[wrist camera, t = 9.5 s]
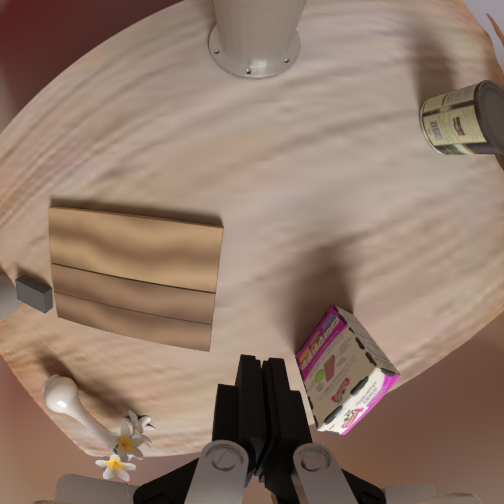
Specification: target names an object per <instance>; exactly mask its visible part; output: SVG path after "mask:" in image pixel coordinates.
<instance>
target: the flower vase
mask: <svg viewBox="0 0 504 504" xmlns="http://www.w3.org/2000/svg"><path fill="white" fill-rule="evenodd" d="M42 392H43V394H44V400H45V403H46V405H47V407H48V408H49V409H51V410H52V411H54V412H57V413H65V414H67V415H70V416H72V417H73V418H75V419H76V420H78V421H79V422H80V423H82V424H83V425H84V426H85V427H86V428H88V429H89V430H90V431H91V432H92V433H94V434H95V435H96V436H97V437H98V438H99V439H100V440H101V441H102V442H103V443H104V444H105V445H106V446H107V447H108V448H109V450H110V451H111V452H113V451H114V453H115V454H112V455H111V456H110V457H107V456H105V457H103V459H104V460H97V461H96V462H95V463H96V464H97V465H98V466H101V467H103V468H102V470H103V471H104V473H103V477H104V478H105V479H109V478H112V477H113V476H114V474H115V471H116V473H117V475H118V476H119V477H120V478H122V479H123V480H125V481H128V480H129V479H130V477H129V475H128V474H127V473H126V471H125V469H126V470H135V469H136V467H135V465H134V464H131V463H127V461H129V460H130V459H131V458H132V457H133V456H135V457H136V458H138V459H140V460H142V459H143V454H142V452H141V451H140V450H139V449H138V448H139V447H140V446H141V444H143V443H144V444H145V445H147V446H148V447H150V446H149V444H148V443H150V444H152V442H151V440H150V439H149V438H148V437H146V436H145V435H141V434H142V433H143V430H151V431H154V430H155V428H153V427H152V426H148V425H147V424H148V423H149V422H150V421H151V418H150V417H148V416H144V417H142V418H140V419H139V421H138V417H137V415H136V414H135V413H134V412H133V411H131V410H129V411H128V413H129V416H130V418H131V420H130V419H129V418H126V417H124V418H123V419H124V420H125V421H126V422H128V423H129V424H130V425H132V426H133V434H132V436H131V433H130V428H129V426H128V425H127V424H123V425H122V427H121V436H120V435H119V434H117V433H115V432H111V431H110V430H108V429H107V428H105V427H104V426H103V425H102V424H100V423H99V422H98V421H97V420H96V419H95V418H94V417H93V416H92V415H91V414H90V413H89V412H88V411H87V410H86V409H85V408H84V406H83V405H82V403H81V401H80V399H79V395H78V389H77V386H76V384H75V382H74V381H73V380H72V379H71V378H69V377H61V376H60V375H58V374H55V375H52V376H51V377H49V378H48V379H47V380H46V381H45V383H44V384H43V387H42ZM146 425H147V426H146ZM147 442H148V443H147ZM116 448H117V450H116ZM150 448H151V447H150Z"/></svg>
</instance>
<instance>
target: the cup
mask: <svg viewBox="0 0 504 504" xmlns="http://www.w3.org/2000/svg"><path fill="white" fill-rule="evenodd" d="M18 306H19V300H18V299H17V293H16V288H15V286H14V284H13V283H12V281H11V279H10V278H8V277H7V276H6V275H3V274H0V322H1V321H2V320H4V319H5V318H6V317H8V316H9V315H10V314H12V313H13V312H14V311H16V310H17V309H18Z"/></svg>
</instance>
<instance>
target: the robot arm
mask: <svg viewBox="0 0 504 504" xmlns="http://www.w3.org/2000/svg"><path fill="white" fill-rule="evenodd" d="M306 2H307V0H213V5H214V11H215V16H216V22H217V24H216V25H215V26H214V28H213V29H212V31H211V34H210V37H209V49H210V52H211V55H212V57H213V59H214V61H215V62H216V63H217V64H218V65H219V66H220V67H221V68H222V69H224V70H225V71H227V72H228V73H230V74H232V75H235V76H238V77H241V78H247V79H264V78H269V77H273V76H276V75H278V74H280V73H282V72H284V71H285V70H287V69H288V68H290V66H291V65H292V64H293V63H294V62H295V60H296V58H297V56H298V54H299V51H300V38H299V35H298V33H297V31H296V27H297V25H298V22H299V20H300V17H301V14H302V12H303V9H304V7H305V4H306ZM216 53H218V54H216ZM285 62H287V63H285ZM248 72H249V73H250V74H247V73H248ZM253 473H254V476H259V482H260V483H265V488H267V489H268V490H270V492H271V498H272V502H273V504H483V502H482V501H481V500H480V499H479V498H478V497H477V496H476V495H474V494H471V493H464V492H457V493H449V494H445V495H441V496H437V494H436V491H435V489H434V487H433V486H432V485H430V484H428V483H419V484H411V485H400V486H386V487H384V488H382V489H380V488H378V487H377V486H374V485H372V484H370V483H368V482H366V481H364V480H362V479H360V478H358V477H356V476H354V475H353V474H351V473H349V472H347V471H345V470H343V469H342V468H340V466H339V464H338V462H337V460H336V458H335V456H334V454H333V453H332V451H331V450H330V449H329V448H327V447H326V446H324V445H322V444H317V443H313V442H312V438H311V434H310V430H309V426H308V421H307V417H306V413H305V409H304V405H303V401H302V397H301V393H300V392H299V391H294V390H290V386H289V382H288V377H287V372H286V367H285V362H284V359H282V358H269V359H268V361H265V360H264V361H263V364H262V368H261V363H260V360H256V358H255V356H251V355H243V354H241V357H240V361H239V366H238V371H237V376H236V381H235V386H232V385H224V384H218V388H217V395H216V402H215V411H214V421H213V432H212V442H211V443H208V444H207V445H206V446H205V447H204V448H203V450H202V452H201V455H200V457H199V458H197V459H195V460H193V461H191V462H190V463H188V464H186V465H184V466H182V467H180V468H178V469H176V470H174V471H172V472H170V473H168V474H166V475H164V476H161V477H159V478H157V479H155V480H153V481H150V482H148V483H146V484H143V485H142V486H133V485H128V484H127V483H121V482H113V481H106V480H100V479H95V478H89V477H85V476H80V475H76V474H67V475H63V476H62V477H61V478H59V480H58V482H57V486H56V497H55V501H54V500H40V501H35V502H33V503H31V504H241V502H242V497H243V491H244V488H246V487H247V486H248V483H249V482H250V479H251V477H252V475H253Z"/></svg>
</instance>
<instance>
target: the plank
mask: <svg viewBox="0 0 504 504" xmlns="http://www.w3.org/2000/svg"><path fill="white" fill-rule="evenodd" d="M48 211H49V242H50V255H51V262H52V263H56V264H61V265H65V266H70V267H74V268H79V269H84V270H89V271H94V272H99V273H104V274H109V275H114V276H119V277H124V278H130V279H135V280H141V281H146V282H152V283H158V284H164V285H170V286H176V287H182V288H189V289H195V290H202V291H209V292H215V291H216V286H217V277H218V269H219V260H220V252H221V244H222V237H223V229H224V226H218V225H211V224H203V223H196V222H188V221H180V220H173V219H165V218H157V217H148V216H140V215H132V214H123V213H114V212H105V211H96V210H87V209H77V208H67V207H57V206H53V207H49V208H48Z"/></svg>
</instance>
